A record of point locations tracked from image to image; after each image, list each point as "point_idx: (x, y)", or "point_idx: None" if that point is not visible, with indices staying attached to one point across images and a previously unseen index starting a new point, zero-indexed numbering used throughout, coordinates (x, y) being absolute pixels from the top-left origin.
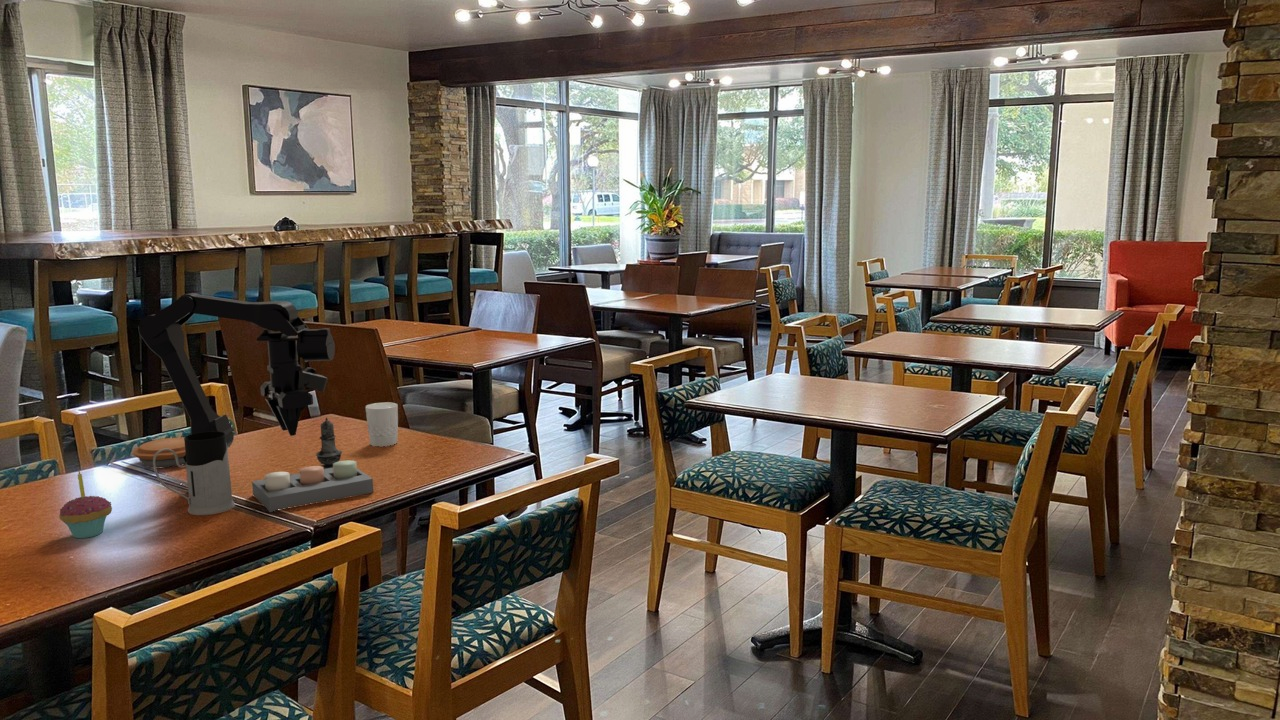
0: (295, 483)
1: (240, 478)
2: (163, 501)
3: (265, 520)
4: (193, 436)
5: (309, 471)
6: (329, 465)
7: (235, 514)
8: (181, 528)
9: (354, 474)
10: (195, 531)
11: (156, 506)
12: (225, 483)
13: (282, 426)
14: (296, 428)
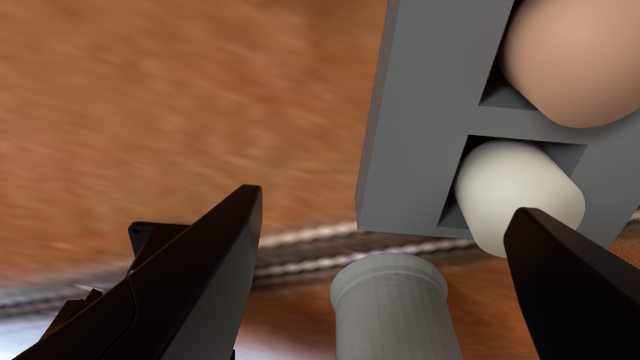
0: (541, 127)
1: (105, 165)
2: (244, 340)
3: (630, 243)
4: None
5: (637, 93)
6: None
7: (498, 275)
8: (484, 357)
9: None
10: (532, 347)
11: (277, 353)
12: (457, 345)
13: (256, 251)
14: (601, 251)
